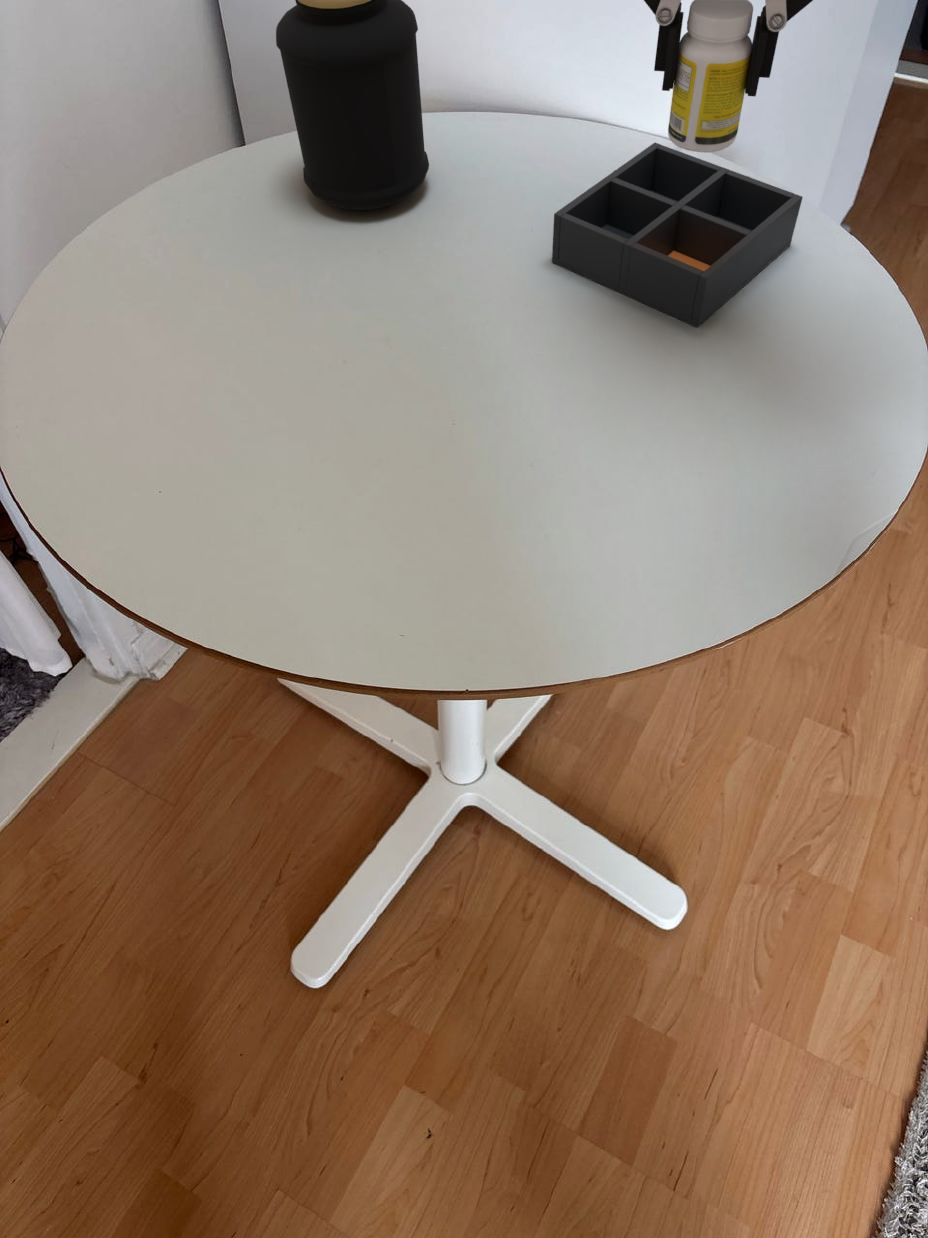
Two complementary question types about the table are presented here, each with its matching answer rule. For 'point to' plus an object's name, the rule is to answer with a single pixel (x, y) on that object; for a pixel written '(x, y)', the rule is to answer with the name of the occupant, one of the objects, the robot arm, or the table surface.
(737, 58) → the supplement bottle
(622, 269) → the box
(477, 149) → the table surface
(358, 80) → the container
